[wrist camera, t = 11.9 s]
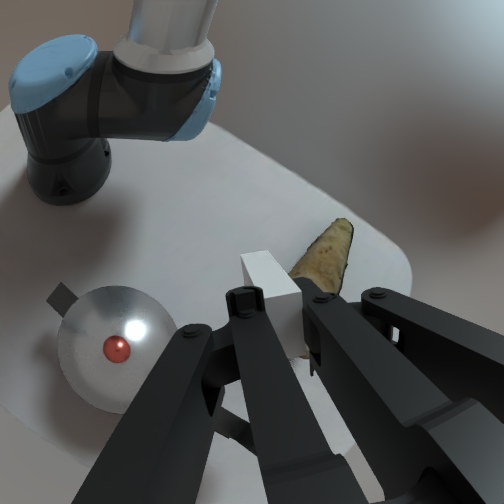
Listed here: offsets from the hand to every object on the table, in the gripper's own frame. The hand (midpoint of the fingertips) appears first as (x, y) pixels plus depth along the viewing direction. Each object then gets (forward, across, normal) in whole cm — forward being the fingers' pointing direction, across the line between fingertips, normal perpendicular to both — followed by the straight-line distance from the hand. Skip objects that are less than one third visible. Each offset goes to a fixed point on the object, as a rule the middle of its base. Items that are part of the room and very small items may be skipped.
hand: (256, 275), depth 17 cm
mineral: (+31, +11, -13) cm, 35 cm away
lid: (+11, -10, -15) cm, 21 cm away
